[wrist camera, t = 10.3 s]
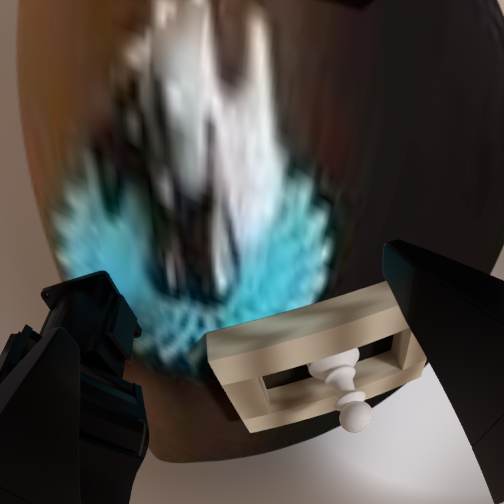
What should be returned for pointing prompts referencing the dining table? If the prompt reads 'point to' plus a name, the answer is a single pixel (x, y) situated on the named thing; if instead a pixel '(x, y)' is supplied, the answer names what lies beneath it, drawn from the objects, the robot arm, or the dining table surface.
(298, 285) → the dining table surface
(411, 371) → the wooden rectangular frame
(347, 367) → the chess pawn
